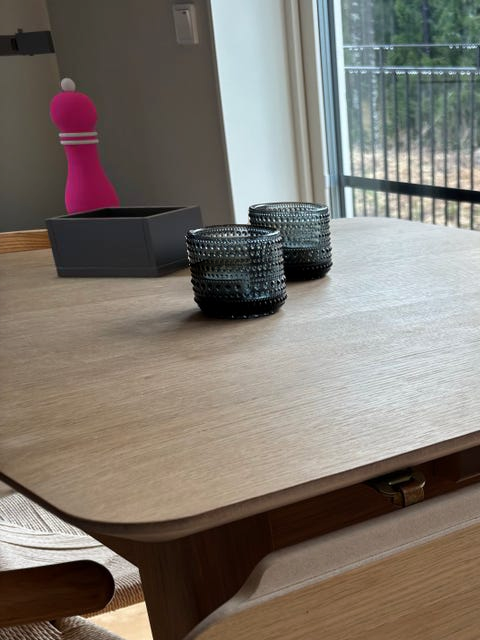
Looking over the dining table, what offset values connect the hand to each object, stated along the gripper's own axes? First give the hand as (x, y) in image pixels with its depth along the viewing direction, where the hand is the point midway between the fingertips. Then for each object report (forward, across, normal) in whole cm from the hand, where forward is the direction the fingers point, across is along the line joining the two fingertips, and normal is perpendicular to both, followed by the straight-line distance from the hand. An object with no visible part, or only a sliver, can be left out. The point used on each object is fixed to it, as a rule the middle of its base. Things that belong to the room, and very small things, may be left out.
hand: (10, 40), depth 133 cm
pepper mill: (+9, 0, -25) cm, 27 cm away
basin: (+37, +20, -25) cm, 49 cm away
